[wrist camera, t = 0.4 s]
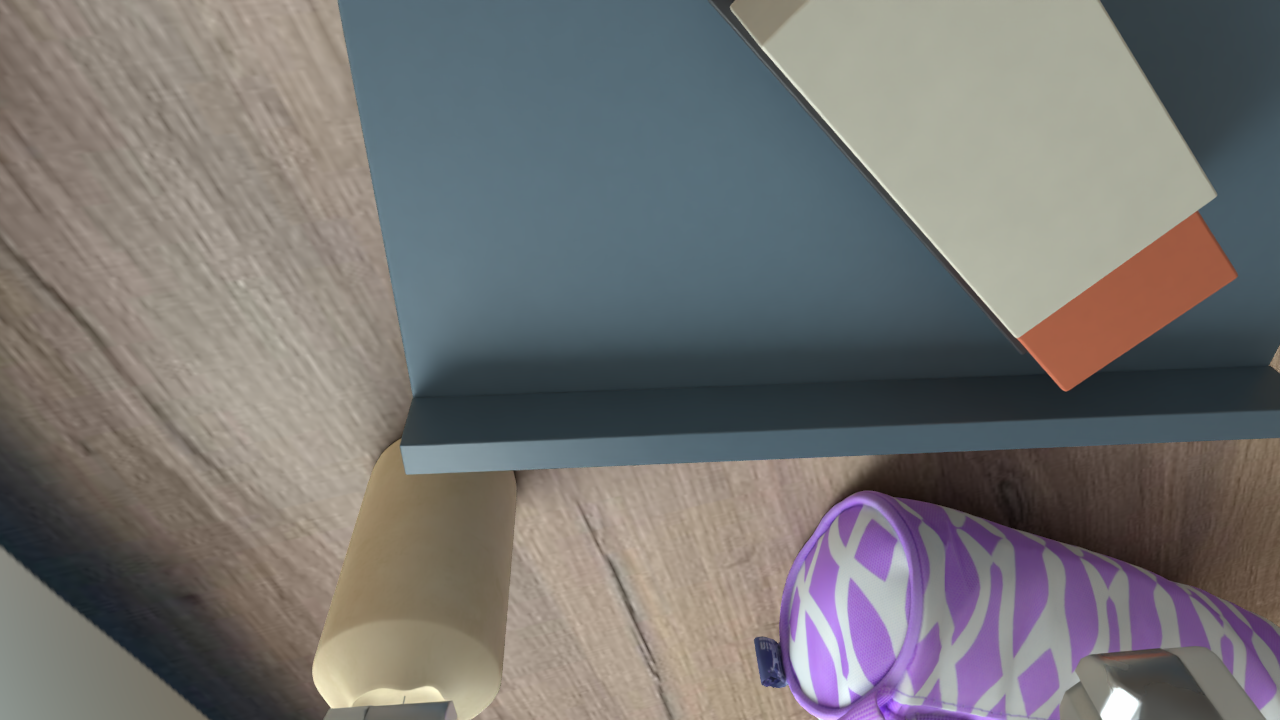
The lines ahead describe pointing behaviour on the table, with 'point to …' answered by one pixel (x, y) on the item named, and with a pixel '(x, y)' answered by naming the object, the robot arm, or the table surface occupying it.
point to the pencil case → (979, 618)
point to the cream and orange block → (1010, 158)
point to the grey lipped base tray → (752, 250)
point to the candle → (422, 592)
